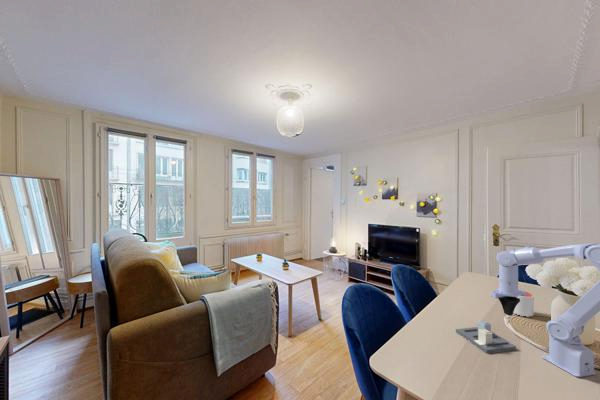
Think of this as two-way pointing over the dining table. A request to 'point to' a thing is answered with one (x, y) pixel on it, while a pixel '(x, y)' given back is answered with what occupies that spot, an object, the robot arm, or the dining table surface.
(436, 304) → the dining table surface
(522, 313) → the cup
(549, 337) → the robot arm
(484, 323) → the grey switch
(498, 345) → the switch panel
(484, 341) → the cream switch
